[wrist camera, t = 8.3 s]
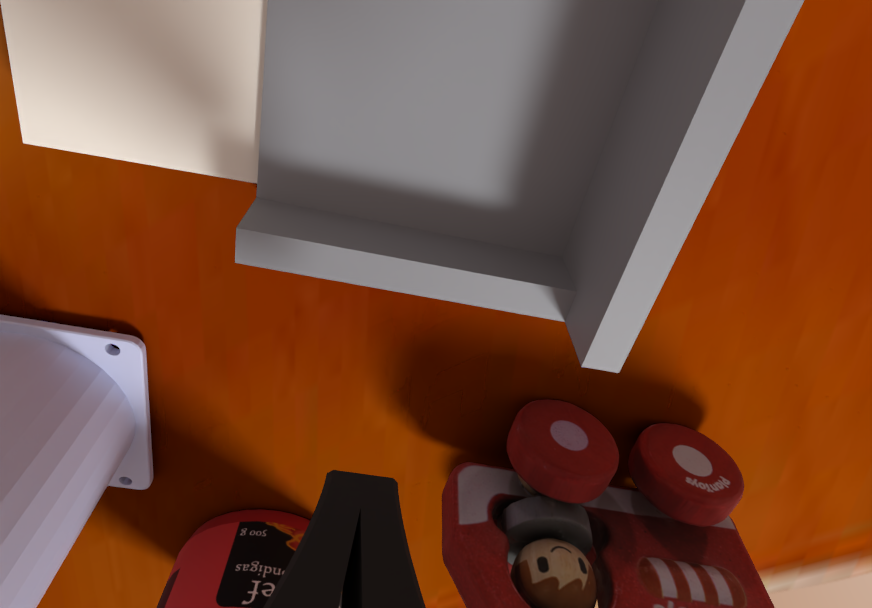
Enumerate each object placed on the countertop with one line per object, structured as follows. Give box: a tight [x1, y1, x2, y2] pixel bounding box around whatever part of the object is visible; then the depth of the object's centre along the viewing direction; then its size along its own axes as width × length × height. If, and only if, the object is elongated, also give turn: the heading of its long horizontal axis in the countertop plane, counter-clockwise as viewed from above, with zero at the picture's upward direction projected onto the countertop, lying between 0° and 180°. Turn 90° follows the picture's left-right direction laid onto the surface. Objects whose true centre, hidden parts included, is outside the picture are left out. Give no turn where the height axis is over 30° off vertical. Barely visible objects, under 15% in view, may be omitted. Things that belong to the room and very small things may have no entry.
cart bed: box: [235, 0, 804, 373], centre depth 13 cm, size 10×12×6 cm
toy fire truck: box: [442, 399, 774, 608], centre depth 21 cm, size 7×12×10 cm, turn 76°
